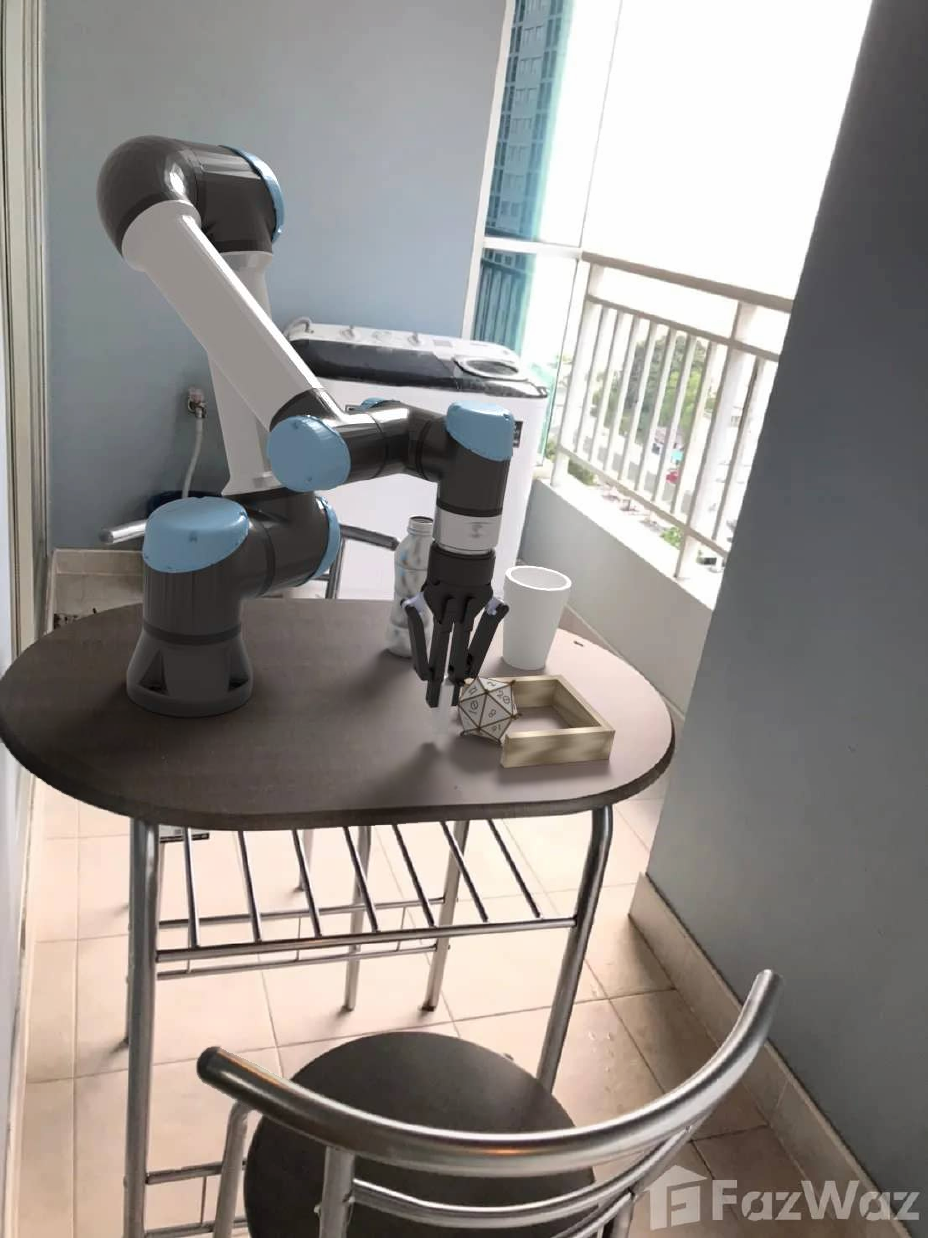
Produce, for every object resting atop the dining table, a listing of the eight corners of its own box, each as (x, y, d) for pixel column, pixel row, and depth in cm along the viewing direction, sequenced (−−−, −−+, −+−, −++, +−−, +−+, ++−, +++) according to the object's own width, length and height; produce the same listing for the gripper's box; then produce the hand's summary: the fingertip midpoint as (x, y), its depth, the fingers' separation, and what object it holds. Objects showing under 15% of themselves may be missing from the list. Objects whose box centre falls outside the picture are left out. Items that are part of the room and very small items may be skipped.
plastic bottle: (437, 653, 145) (455, 521, 138) (410, 667, 140) (428, 530, 132) (401, 638, 148) (417, 508, 141) (373, 651, 143) (388, 517, 135)
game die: (490, 758, 127) (545, 702, 126) (479, 767, 119) (538, 708, 118) (441, 708, 129) (495, 652, 127) (426, 714, 120) (484, 654, 119)
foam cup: (551, 680, 142) (567, 595, 137) (487, 666, 144) (501, 582, 139) (558, 654, 151) (574, 573, 146) (498, 641, 152) (511, 561, 147)
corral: (504, 767, 118) (509, 738, 117) (459, 706, 131) (463, 679, 130) (609, 758, 124) (615, 730, 122) (556, 701, 136) (561, 674, 135)
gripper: (419, 555, 107) (395, 748, 116) (529, 555, 112) (498, 741, 121) (398, 532, 113) (377, 717, 122) (504, 534, 118) (476, 711, 127)
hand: (437, 729), depth 121 cm, fingers closed
